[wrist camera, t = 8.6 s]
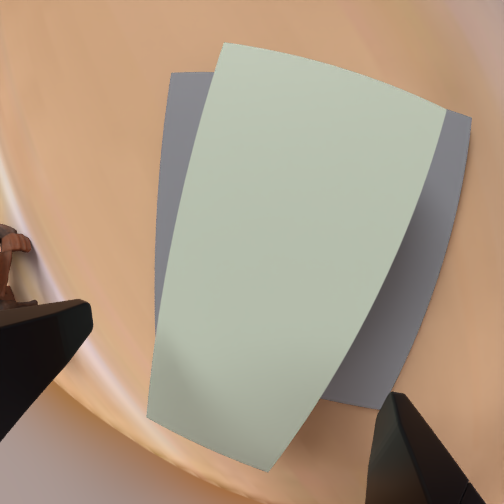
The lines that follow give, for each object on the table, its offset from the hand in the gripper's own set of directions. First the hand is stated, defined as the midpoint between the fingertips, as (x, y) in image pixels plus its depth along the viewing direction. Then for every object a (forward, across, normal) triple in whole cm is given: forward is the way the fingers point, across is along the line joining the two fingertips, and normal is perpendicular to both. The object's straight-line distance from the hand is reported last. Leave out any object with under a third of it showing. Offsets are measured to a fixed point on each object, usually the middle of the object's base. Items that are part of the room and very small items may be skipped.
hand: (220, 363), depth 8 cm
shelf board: (+6, 0, 0) cm, 6 cm away
